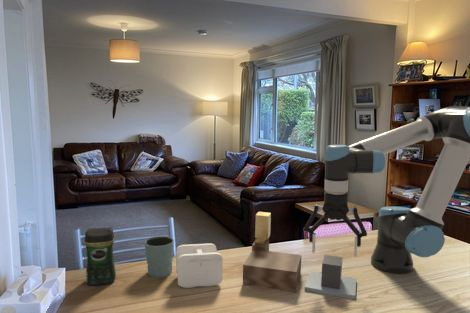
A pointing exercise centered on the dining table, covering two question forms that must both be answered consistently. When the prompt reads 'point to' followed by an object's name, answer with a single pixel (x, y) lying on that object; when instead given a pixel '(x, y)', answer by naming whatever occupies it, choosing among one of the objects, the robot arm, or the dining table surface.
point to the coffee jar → (99, 256)
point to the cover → (331, 279)
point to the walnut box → (271, 268)
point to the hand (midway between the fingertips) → (334, 253)
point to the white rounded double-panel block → (198, 265)
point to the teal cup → (159, 256)
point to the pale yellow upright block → (262, 227)
